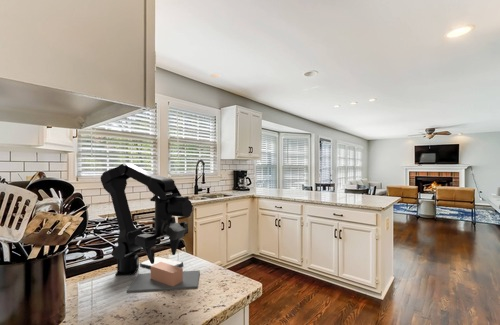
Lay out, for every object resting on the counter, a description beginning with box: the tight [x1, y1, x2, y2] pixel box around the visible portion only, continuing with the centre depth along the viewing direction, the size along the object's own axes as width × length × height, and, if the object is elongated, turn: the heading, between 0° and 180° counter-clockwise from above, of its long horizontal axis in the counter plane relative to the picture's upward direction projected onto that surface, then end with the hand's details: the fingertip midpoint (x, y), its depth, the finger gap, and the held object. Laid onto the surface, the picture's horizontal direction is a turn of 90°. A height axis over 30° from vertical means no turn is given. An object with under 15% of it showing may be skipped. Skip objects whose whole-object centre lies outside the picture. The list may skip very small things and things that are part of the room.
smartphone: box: [139, 256, 184, 270], centre depth 100 cm, size 9×2×16 cm
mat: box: [126, 270, 200, 293], centre depth 87 cm, size 22×12×1 cm, turn 98°
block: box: [150, 262, 184, 286], centre depth 86 cm, size 4×4×11 cm
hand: (163, 259), depth 87 cm, fingers open, 9 cm apart
